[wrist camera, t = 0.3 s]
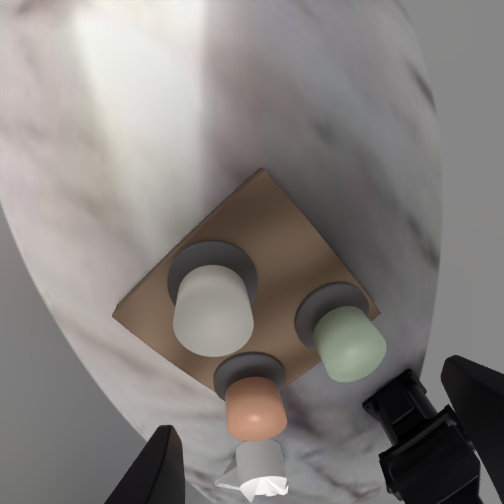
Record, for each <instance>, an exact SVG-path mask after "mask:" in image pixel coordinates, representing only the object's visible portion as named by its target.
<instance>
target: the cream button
mask: <svg viewBox="0 0 504 504" xmlns="http://www.w3.org/2000/svg"><path fill="white" fill-rule="evenodd" d="M253 327H254V321H253V315H252V311H251V307H250V302H249V298H248V293H247V289H246V286H245V284H244V282H243V280H242V279H241V277H240V276H239V275H238V274H237V273H235V272H234V271H232V270H231V269H229V268H227V267H223V266H219V265H206V266H202V267H198V268H196V269H194V270H193V271H191V272H190V273H188V274H187V275H186V276H185V277H184V279H183V280H182V282H181V284H180V287H179V290H178V296H177V301H176V307H175V312H174V318H173V329H174V333H175V335H176V337H177V339H178V340H179V342H180V343H181V344H182V345H183V346H184V347H185V348H187V349H188V350H190V351H192V352H193V353H196V354H198V355H202V356H207V357H220V356H225V355H229V354H231V353H234V352H236V351H237V350H239V349H240V348H242V347H243V346H244V345H245V344H246V343H247V342H248V340H249V339H250V337H251V335H252V332H253Z"/></svg>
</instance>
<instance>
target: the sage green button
mask: <svg viewBox="0 0 504 504" xmlns="http://www.w3.org/2000/svg"><path fill="white" fill-rule="evenodd" d="M313 343H314V345H315V347H316V349H317V351H318V354H319V356H320V358H321V360H322V362H323V364H324V366H325V369H326V371H327V373H328V375H329V376H330V377H331V378H332V379H333V380H335V381H337V382H342V383H347V382H353V381H357V380H359V379H362V378H364V377H366V376H367V375H369V374H370V373H372V372H373V371H374V370H375V369H376V368H377V367H378V366H379V365H380V363H381V362H382V360H383V358H384V356H385V354H386V349H387V345H386V341H385V339H384V338H383V336H382V335H381V334H380V333H379V331H378V330H377V329H376V327H375V326H374V325H373V324H372V322H371V321H370V320H369V318H368V317H367V316H366V315H365V313H364V312H363V311H362V310H361V309H359V308H357V307H354V306H343V307H339V308H336V309H334V310H332V311H330V312H328V313H327V314H326V315H324V316H323V317H322V318H321V319H320V321H319V322H318V323H317V325H316V327H315V329H314V332H313Z"/></svg>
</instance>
